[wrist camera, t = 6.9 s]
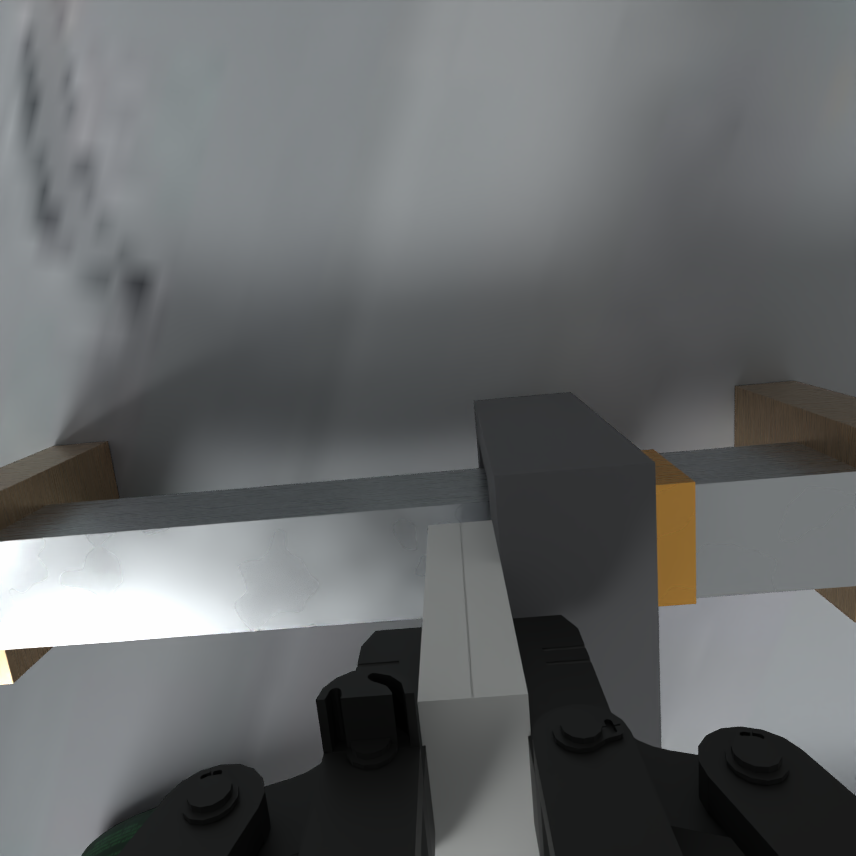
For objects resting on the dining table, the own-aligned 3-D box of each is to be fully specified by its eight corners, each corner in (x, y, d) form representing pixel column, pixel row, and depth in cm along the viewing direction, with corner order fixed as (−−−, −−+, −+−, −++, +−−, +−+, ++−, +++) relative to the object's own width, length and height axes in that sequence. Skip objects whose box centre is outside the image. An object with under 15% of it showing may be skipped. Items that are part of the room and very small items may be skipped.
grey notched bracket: (489, 590, 22) (516, 769, 14) (473, 400, 20) (493, 476, 12) (579, 583, 21) (661, 760, 13) (570, 392, 20) (655, 462, 12)
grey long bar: (82, 575, 24) (-62, 690, 17) (53, 445, 23) (-112, 513, 16) (790, 519, 23) (939, 618, 16) (794, 380, 22) (954, 423, 15)
